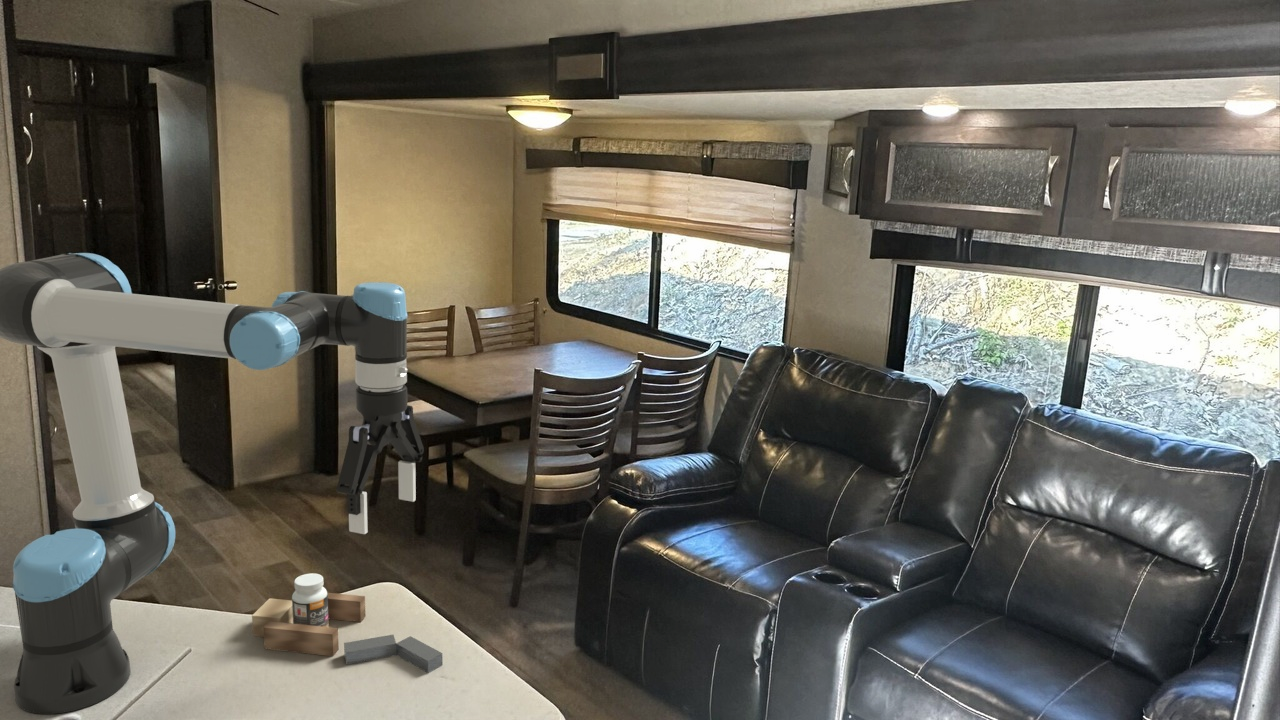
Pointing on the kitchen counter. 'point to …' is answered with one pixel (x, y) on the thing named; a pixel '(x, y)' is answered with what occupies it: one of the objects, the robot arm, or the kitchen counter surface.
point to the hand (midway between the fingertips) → (383, 515)
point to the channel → (315, 628)
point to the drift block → (272, 614)
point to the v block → (393, 651)
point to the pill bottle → (310, 601)
